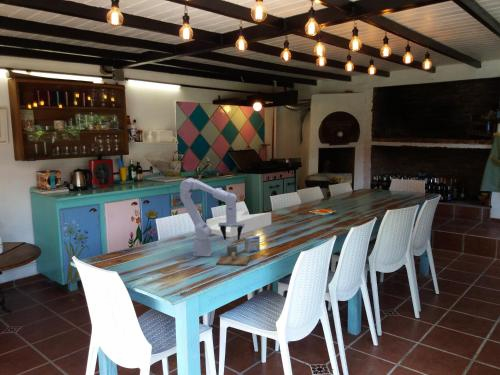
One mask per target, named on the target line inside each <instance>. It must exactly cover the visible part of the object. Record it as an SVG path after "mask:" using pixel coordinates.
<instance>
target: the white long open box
mask: <svg viewBox="0 0 500 375" xmlns="http://www.w3.org/2000/svg"><path fill="white" fill-rule="evenodd" d="M236 216H237V223H245V227H243V229H242V231H241V234H240V235H242V234H245V233H248V232H251V231H255V230H258V229H261V228H264V227H267V226H270V225H272V212H270V211H269V212H265V213H264V212H262V213H254V214H249V209H244V210H240V211H236ZM225 222H226V214H224V215H220V216H216V217H212V218H208V219H206V222H205V223H206V224H207V226H209V227H210V229H211V234H212V235H218V236H222V237H223V234H222V232H221V230H220V227H218V223H225ZM237 228H238V227H226V238H233V237H237V236H238V231H237Z"/></svg>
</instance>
